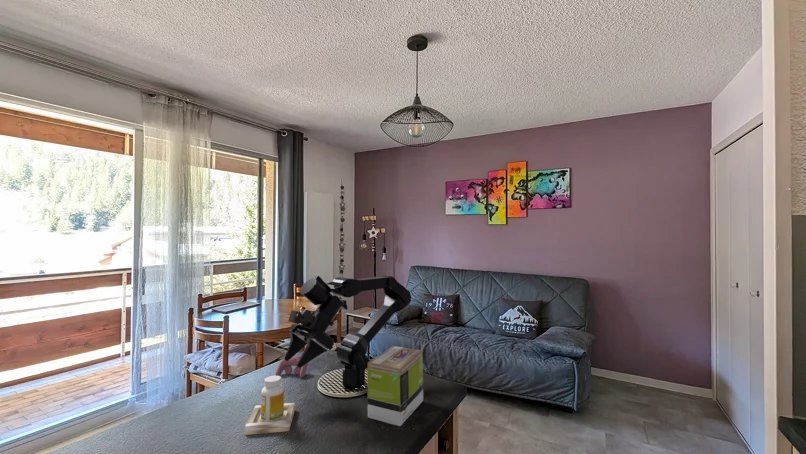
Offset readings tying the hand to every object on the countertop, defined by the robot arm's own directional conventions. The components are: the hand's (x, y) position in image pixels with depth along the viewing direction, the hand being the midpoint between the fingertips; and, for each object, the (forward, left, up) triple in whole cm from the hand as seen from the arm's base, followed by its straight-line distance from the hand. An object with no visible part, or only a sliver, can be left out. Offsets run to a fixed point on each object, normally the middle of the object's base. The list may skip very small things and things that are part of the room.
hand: (291, 363), depth 91 cm
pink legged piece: (+3, -24, -13) cm, 27 cm away
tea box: (-28, +4, -13) cm, 31 cm away
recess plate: (+4, +5, -12) cm, 14 cm away
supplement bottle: (+4, +5, -12) cm, 13 cm away
